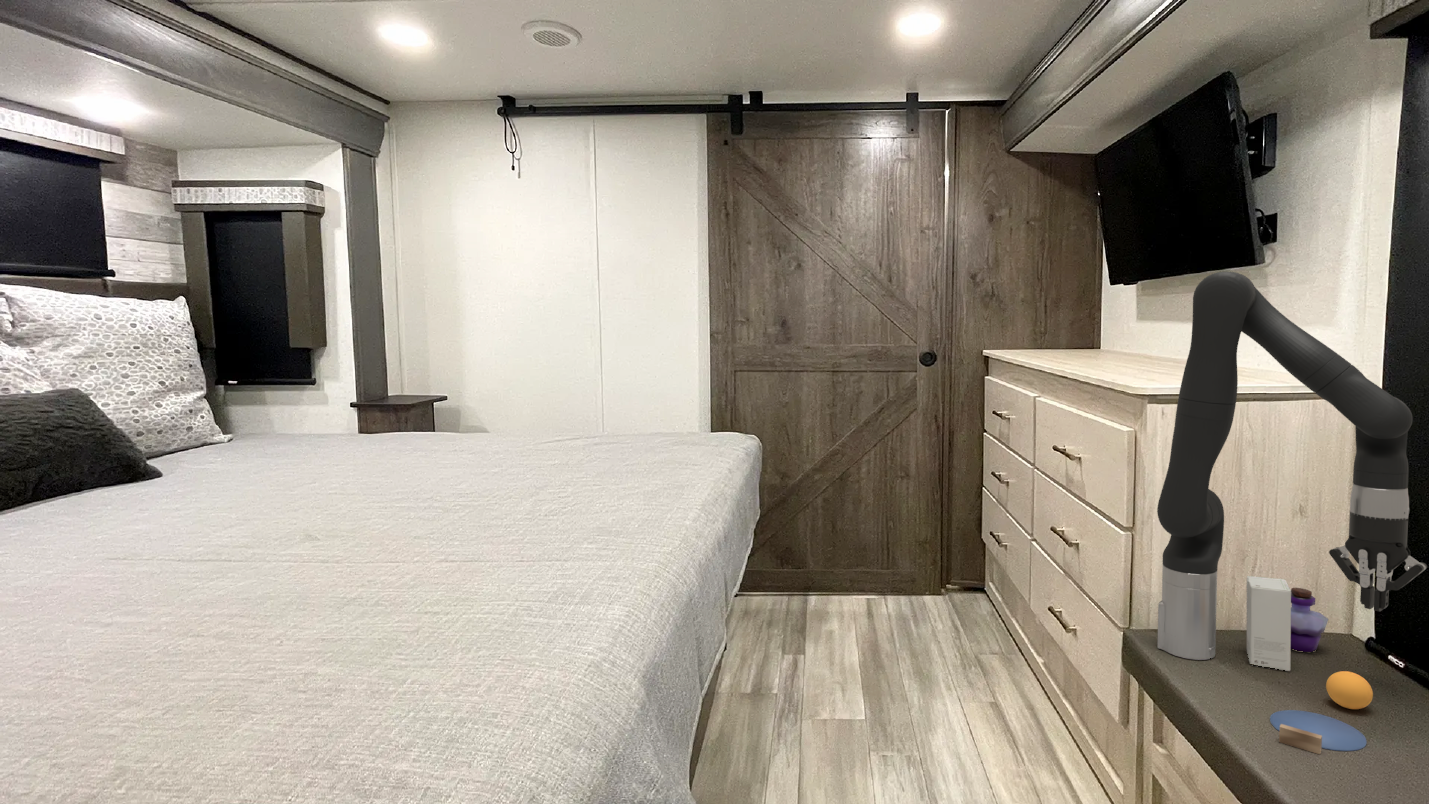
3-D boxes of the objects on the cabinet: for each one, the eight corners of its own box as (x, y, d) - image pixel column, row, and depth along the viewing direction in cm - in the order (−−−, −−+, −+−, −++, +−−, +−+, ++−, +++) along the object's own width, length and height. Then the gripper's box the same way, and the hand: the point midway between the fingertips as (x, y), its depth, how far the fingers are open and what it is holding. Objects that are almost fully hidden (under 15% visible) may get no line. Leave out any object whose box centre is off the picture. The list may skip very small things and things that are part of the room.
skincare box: (1290, 672, 138) (1293, 591, 136) (1247, 665, 141) (1249, 586, 140) (1285, 655, 145) (1287, 578, 143) (1243, 649, 148) (1245, 573, 147)
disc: (1262, 731, 119) (1262, 729, 119) (1278, 703, 127) (1278, 702, 127) (1361, 760, 110) (1361, 759, 110) (1371, 729, 118) (1371, 728, 118)
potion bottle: (1261, 640, 152) (1263, 583, 151) (1299, 637, 153) (1301, 580, 152) (1298, 658, 143) (1300, 598, 142) (1339, 654, 144) (1341, 595, 143)
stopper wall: (1279, 742, 115) (1279, 726, 115) (1280, 739, 116) (1281, 723, 116) (1320, 754, 112) (1320, 738, 111) (1321, 751, 112) (1322, 735, 112)
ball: (1322, 707, 125) (1324, 673, 125) (1328, 694, 129) (1329, 661, 129) (1369, 720, 121) (1371, 684, 120) (1374, 706, 125) (1375, 672, 124)
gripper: (1321, 507, 131) (1317, 602, 132) (1423, 522, 119) (1417, 626, 121) (1338, 501, 135) (1335, 593, 136) (1438, 515, 123) (1433, 615, 125)
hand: (1374, 608), depth 128 cm, fingers closed
